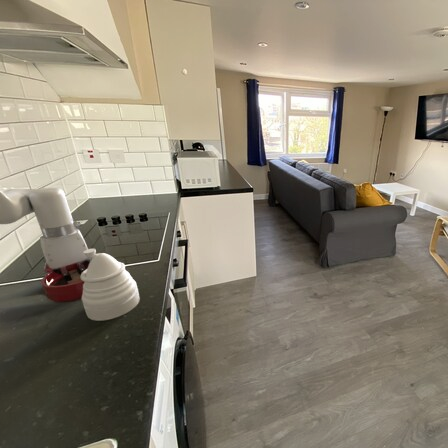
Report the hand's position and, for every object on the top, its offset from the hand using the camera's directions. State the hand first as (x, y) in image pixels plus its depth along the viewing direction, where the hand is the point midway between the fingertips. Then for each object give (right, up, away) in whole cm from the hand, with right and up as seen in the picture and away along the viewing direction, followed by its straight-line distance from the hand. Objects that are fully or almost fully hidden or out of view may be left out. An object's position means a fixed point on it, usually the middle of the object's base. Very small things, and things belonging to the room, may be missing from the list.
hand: (76, 281), depth 85 cm
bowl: (+2, -2, -2) cm, 3 cm away
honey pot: (+19, -5, -9) cm, 21 cm away
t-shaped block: (+2, -1, -1) cm, 2 cm away
